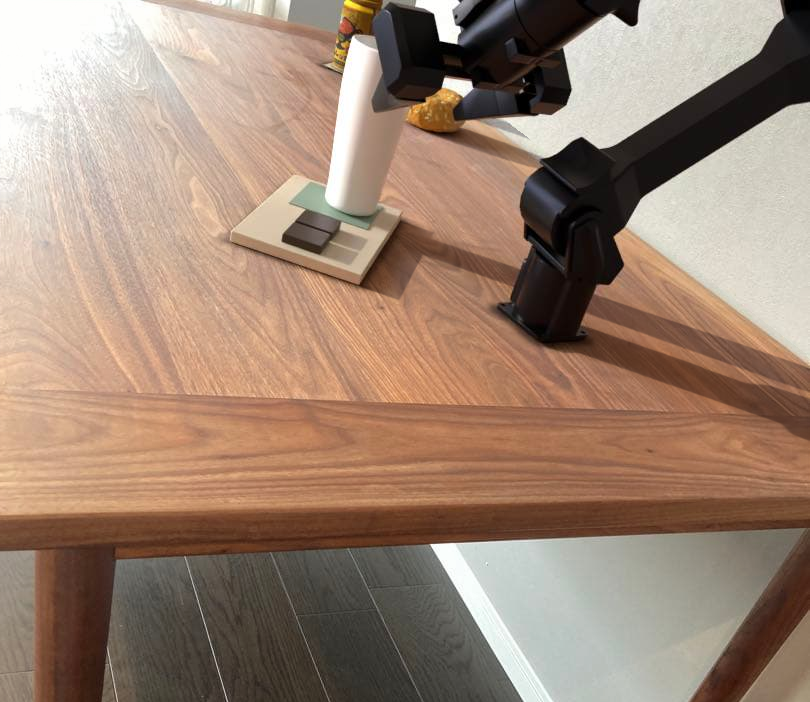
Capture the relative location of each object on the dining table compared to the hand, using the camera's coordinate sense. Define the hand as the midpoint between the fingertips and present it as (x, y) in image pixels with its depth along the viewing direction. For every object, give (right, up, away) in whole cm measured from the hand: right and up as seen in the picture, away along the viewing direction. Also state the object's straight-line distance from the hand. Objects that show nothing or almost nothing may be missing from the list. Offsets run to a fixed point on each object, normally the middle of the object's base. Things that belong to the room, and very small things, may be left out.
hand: (415, 111), depth 81 cm
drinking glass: (-7, -4, +12) cm, 14 cm away
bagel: (+2, +22, +51) cm, 55 cm away
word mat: (-9, -8, +8) cm, 14 cm away
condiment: (-9, +36, +64) cm, 74 cm away
